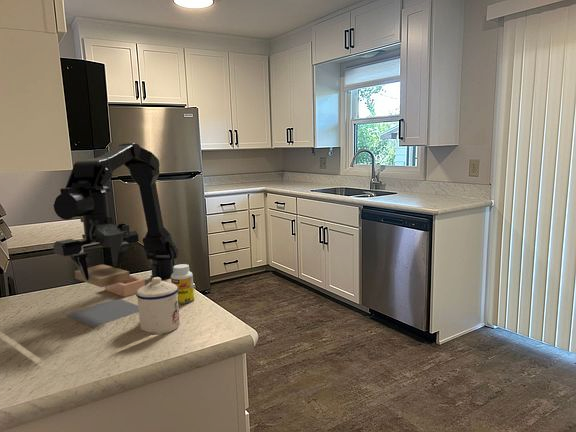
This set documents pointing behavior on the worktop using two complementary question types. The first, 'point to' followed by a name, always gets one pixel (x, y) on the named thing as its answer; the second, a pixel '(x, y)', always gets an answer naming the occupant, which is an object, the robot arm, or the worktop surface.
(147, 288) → the teacup with lid
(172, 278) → the supplement bottle
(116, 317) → the rubber mat
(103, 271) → the tan flat block
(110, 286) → the peach open box
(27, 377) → the worktop surface
